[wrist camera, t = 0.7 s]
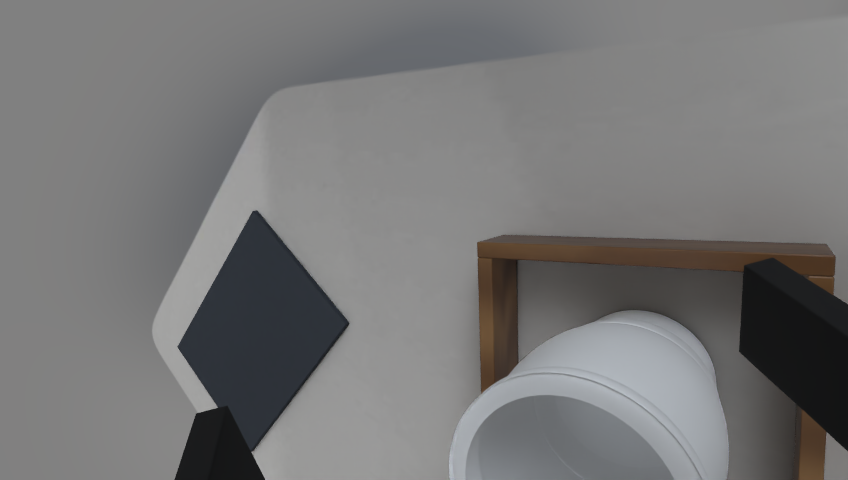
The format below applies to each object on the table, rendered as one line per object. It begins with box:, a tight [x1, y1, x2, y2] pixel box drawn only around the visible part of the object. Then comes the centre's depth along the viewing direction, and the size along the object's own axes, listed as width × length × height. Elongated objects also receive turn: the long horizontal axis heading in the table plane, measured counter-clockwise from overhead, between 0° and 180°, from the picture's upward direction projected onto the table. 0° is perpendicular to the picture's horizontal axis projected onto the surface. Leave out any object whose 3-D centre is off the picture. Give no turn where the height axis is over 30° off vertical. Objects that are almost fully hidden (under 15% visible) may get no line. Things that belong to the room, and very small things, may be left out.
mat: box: [178, 211, 349, 452], centre depth 52 cm, size 20×14×1 cm
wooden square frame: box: [477, 235, 835, 480], centre depth 32 cm, size 17×18×4 cm
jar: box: [449, 310, 729, 480], centre depth 27 cm, size 11×10×15 cm
